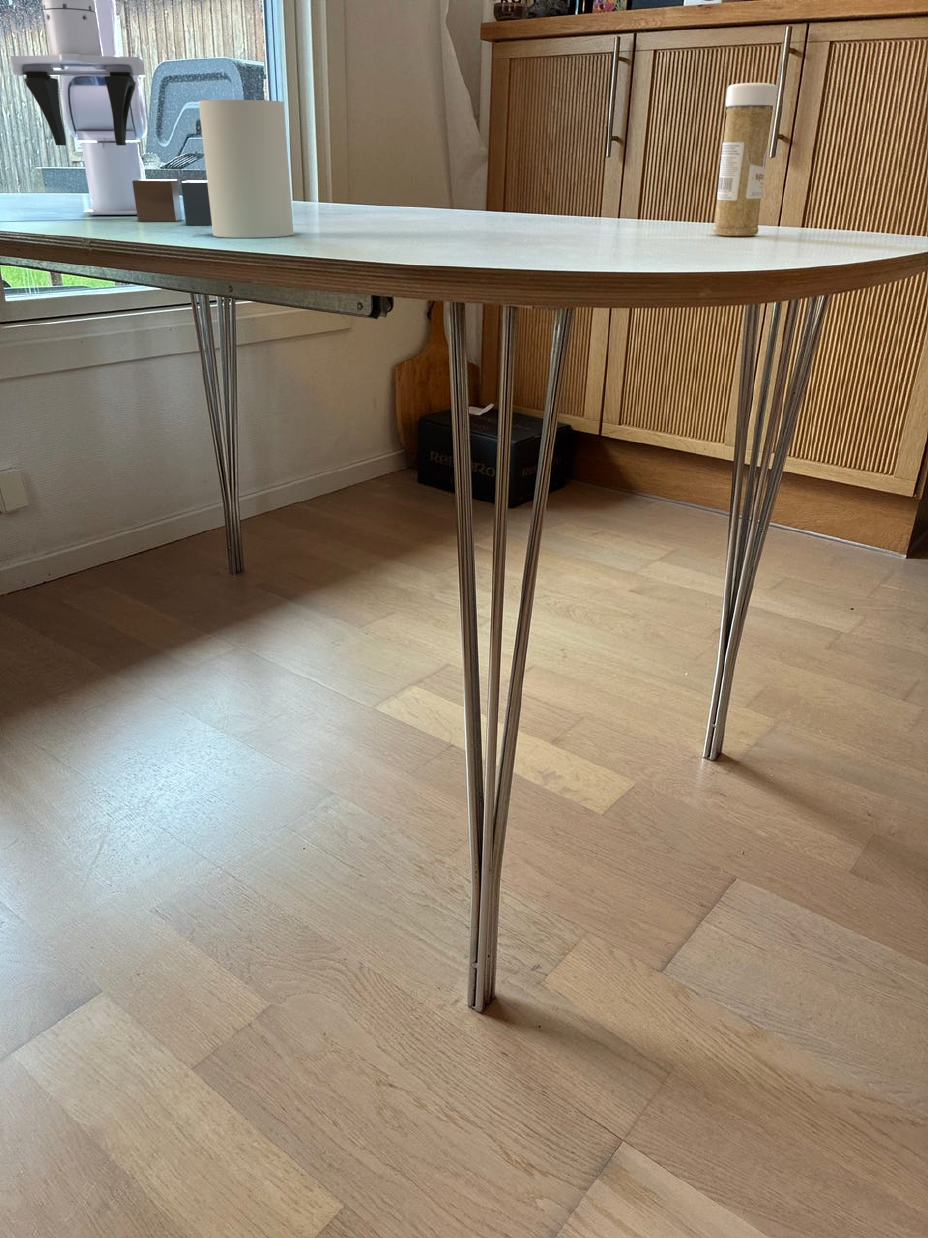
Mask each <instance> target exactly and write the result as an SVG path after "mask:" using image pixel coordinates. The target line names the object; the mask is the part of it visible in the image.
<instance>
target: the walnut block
mask: <svg viewBox="0 0 928 1238" xmlns="http://www.w3.org/2000/svg"><path fill="white" fill-rule="evenodd" d="M132 183H133V190H134V197H135V204H136V211H137V214H136V217H137V222H138V223H142V222H143V223H146V222H147V223H148V222H149V223H150V222H151V223H152V222H153V223H154V222H158V223H159V222H164V223H165V222H173V223H174V222H178V221H181V220H183V214H182V206H181V205H182V204H181V198H180V197H181V196H180V189H179V182H178V179H145V180H133V181H132Z"/></svg>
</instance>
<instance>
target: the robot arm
mask: <svg viewBox="0 0 928 1238" xmlns="http://www.w3.org/2000/svg"><path fill="white" fill-rule="evenodd" d="M41 5H42V10H43V17H44V22H45V28H46V34H47V41H48V47H49V52H50V54H45V55H44V54H42V55H41V54H39V55H10V56H9V57H10V61H11V68H12V74H13V76H17V77H25V78H24V79H23V81H24V83H25V85H26V87H27V88H28V90H29V92H30V93H31V94H32V96H33V98H34V99H35V101H36V103H37V105H38V106H39V108H40V110H41V112H42V114H43V116H44V118H45V121H46V123H47V125H48V127H49V129H50V132H51V135H52V138H53V141H54V143H55V146H67V139H66V133H65V129H64V124H65V127H66V130H67V132H68V133H69V134H70V135H71V136H72V138H74V139H77V142H81V143H80V145H81V151H82V157H83V164H84V171H85V177H86V182H87V189H88V194H89V201H90V207H91V209H88V210H84V211H82V214H83V215H85V216H87V215H88V216H98V215H99V216H101V215H102V216H105V215H106V216H107V215H111V216H112V215H119V216H121V215H137V211H136V204H135V197H134V190H133V183H132V181H133V180H146V174H145V166H144V162H143V160H142V158H141V156H140V149H139V143H140V142H141V139H144V138H145V135H147V132H148V131H147V130H148V126H147V124H148V123H147V115H146V106H145V102H144V101H145V100H144V96H143V89H142V85H141V82H140V79H139V78H145V77H146V74H145V67H144V59H143V58H142V57H140V56H119V45H118V44H119V43H118V27H117V13H116V12H117V11H116V0H41ZM54 77H62V89H61V91H59V80H58V79H57V78H54ZM59 93H60V95H59ZM60 104H61V105H60ZM61 111H62V114H61ZM62 115H63V120H62ZM63 121H64V123H63Z"/></svg>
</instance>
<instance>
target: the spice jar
mask: <svg viewBox="0 0 928 1238" xmlns="http://www.w3.org/2000/svg"><path fill="white" fill-rule="evenodd" d="M776 96H777V85H776V84H774V83H769V82H740V83H734V84H730V85H728V87H727V91H726V99H725V107H726V109H725V112H726V116H725V117H726V118H725V125H724V134H723V142H722V146H721V147H722V148H721V157H720V165H719V177H718V186H717V194H716V195H717V196H716V199H717V203H716V214H715V224H714V227H713V229H712V232H713V234H714V235H716V236H723V237H752V236H755V235H758V233H759V230H760V229H759V218H760V211H761V201H762V199H763V192H764V191H763V190H764V183H765V182H764V181H765V172H766V166H767V165H766V163H767V156H768V143H769V137H770V135H769V134H770V126H771V120H772V119H771V118H772V112H773V111H774V108H773V107H774V106H775V105H776Z"/></svg>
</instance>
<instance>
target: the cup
mask: <svg viewBox="0 0 928 1238" xmlns="http://www.w3.org/2000/svg"><path fill="white" fill-rule="evenodd" d="M198 109H199V119H200V128H201V137H202V138H201V139H202V147H203V155H204V164H205V173H206V181H207V183H208V192H209V201H210V210H211V220H212V225H211V227H212V236H213V237H218V238H235V239H236V238H237V239H242V238H243V239H255V238H256V239H257V238H258V239H259V238H260V239H261V238H279V237H288V236H293V235H294V220H293V208H292V207H293V206H292V195H291V193H292V192H291V180H290V169H289V154H288V140H287V127H286V126H287V125H286V115H285V102H284V101H280V100H262V99H207V100H205V99H204V100H198Z"/></svg>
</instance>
